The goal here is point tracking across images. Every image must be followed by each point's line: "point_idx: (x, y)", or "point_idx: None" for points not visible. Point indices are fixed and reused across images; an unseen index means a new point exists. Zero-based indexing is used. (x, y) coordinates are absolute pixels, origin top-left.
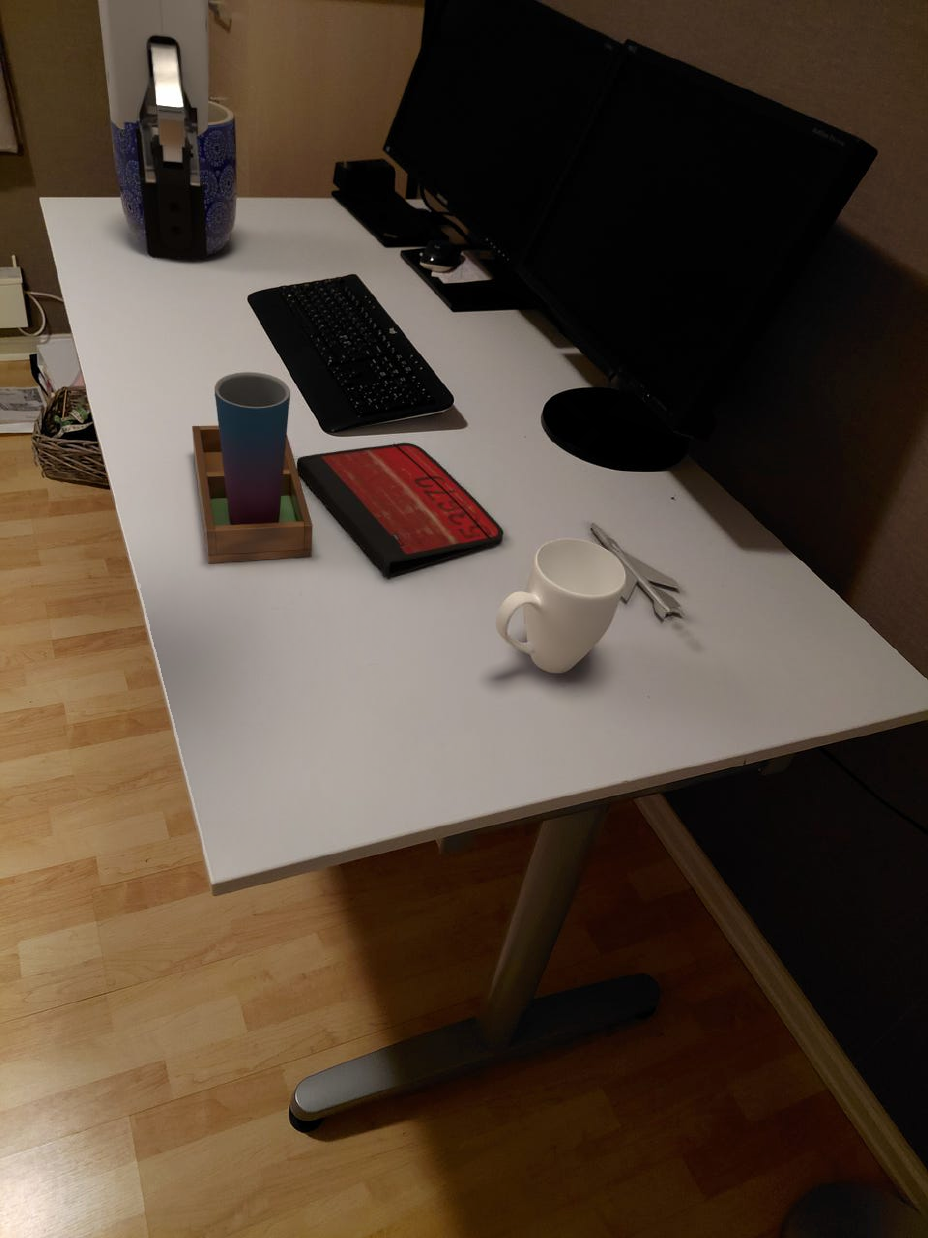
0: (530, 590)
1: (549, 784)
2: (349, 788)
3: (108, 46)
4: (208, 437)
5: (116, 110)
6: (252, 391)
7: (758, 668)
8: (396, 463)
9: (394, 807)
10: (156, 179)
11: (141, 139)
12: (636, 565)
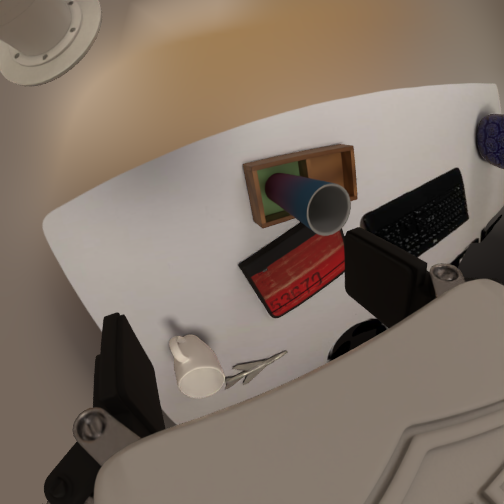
0: (191, 358)
1: None
2: (88, 265)
3: None
4: (347, 154)
5: (95, 495)
6: (340, 203)
7: (199, 405)
8: (332, 260)
9: (84, 285)
10: (122, 414)
11: (402, 272)
12: (257, 370)
